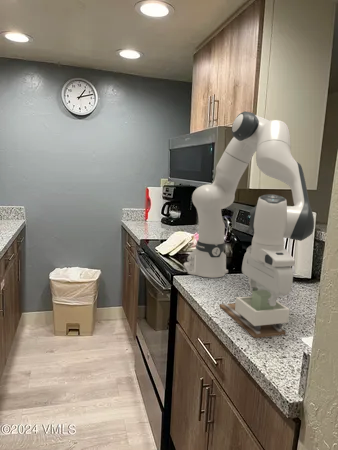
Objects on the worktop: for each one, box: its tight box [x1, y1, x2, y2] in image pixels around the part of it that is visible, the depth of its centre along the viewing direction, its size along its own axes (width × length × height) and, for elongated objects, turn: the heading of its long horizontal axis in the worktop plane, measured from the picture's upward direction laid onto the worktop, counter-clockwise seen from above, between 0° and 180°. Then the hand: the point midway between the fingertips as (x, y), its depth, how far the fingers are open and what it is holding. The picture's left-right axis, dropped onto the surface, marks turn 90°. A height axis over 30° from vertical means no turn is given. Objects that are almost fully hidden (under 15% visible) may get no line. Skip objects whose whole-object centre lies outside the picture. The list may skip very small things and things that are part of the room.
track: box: [219, 302, 287, 339], centre depth 107 cm, size 22×10×1 cm, turn 18°
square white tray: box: [235, 295, 291, 330], centre depth 101 cm, size 11×11×6 cm
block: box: [251, 290, 274, 311], centre depth 101 cm, size 4×4×6 cm
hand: (261, 298), depth 101 cm, fingers open, 8 cm apart
